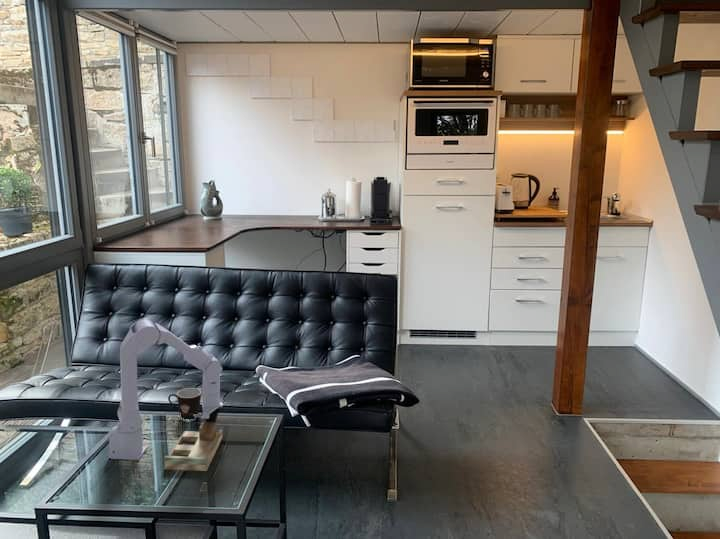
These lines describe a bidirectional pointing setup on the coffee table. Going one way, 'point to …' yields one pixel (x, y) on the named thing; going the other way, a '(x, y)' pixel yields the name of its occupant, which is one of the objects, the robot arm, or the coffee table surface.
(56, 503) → the coffee table surface
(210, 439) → the walnut block
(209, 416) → the robot arm
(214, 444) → the trap deck
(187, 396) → the coffee mug
